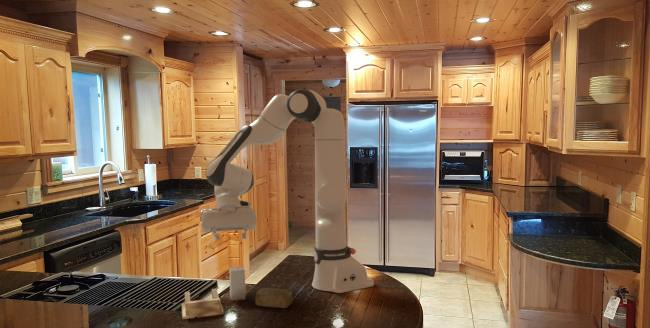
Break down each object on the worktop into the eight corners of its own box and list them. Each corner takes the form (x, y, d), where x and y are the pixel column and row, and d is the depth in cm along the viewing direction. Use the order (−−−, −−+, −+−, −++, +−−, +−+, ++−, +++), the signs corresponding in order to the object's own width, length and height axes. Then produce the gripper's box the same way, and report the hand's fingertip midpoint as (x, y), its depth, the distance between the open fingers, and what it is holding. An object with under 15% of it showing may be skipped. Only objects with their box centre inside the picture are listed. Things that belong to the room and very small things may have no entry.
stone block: (287, 310, 141) (287, 294, 140) (253, 307, 143) (253, 292, 143) (293, 303, 146) (293, 288, 146) (260, 301, 149) (260, 286, 149)
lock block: (243, 294, 155) (242, 265, 155) (245, 299, 150) (244, 269, 150) (229, 295, 154) (229, 267, 153) (231, 300, 149) (230, 271, 148)
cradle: (219, 300, 149) (219, 288, 149) (223, 314, 138) (223, 300, 137) (181, 305, 145) (181, 292, 145) (182, 319, 134) (182, 305, 134)
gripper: (199, 204, 166) (201, 236, 157) (255, 202, 172) (259, 232, 164) (199, 214, 170) (201, 245, 162) (253, 212, 177) (257, 242, 168)
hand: (231, 239), depth 163 cm, fingers open, 8 cm apart
